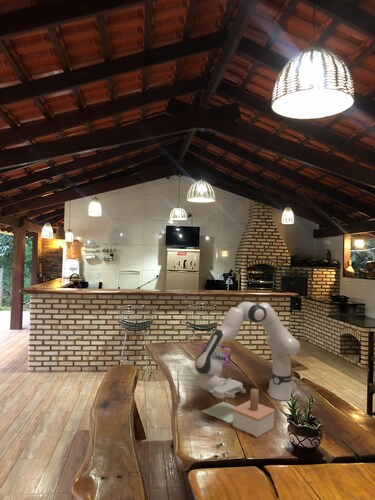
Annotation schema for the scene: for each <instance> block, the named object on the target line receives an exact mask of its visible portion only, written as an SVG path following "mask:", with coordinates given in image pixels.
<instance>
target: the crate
mask: <svg viewBox="0 0 375 500" xmlns="http://www.w3.org/2000/svg"><path fill="white" fill-rule="evenodd" d="M274 424H275V413H273V414H271V415H270V416H268V417H266V418H264V419H262V420H261V421H259V422H258V421H255V420H253V419H251V418H248V417H246V416H243V415H241V414H238V413H236V412H234V411H233V422H232V427H234V428H235V429H238V430H241V431H242V430H243V431H242V432H244V431H245V432H244V433H247V434H249V433H250V434H249V435H251V434H252V435H251V436H253V435H254V437H256V438H258V436H259V437H260V436H262V435H264V434H266V433H267V432H269V431H271V430H272V429H274V428H275V425H274ZM263 433H264V434H263ZM261 434H262V435H261Z"/></svg>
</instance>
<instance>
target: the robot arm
mask: <svg viewBox="0 0 375 500" xmlns="http://www.w3.org/2000/svg"><path fill="white" fill-rule="evenodd" d="M245 321H247V322H252V323H260V324H261V326H262V327H263V329H264V331H265V332H266V334H267V335H266V343H267V344H266V345H268V348H269V349H270V353H271V357H272V359H271V360H272V372H271V379H270V380H269V386H268V389H267V390H266V392H267V393H268V396H269V397H270V398H272V399H274V400H279V401H291V400H290V399H291V393H293V395H294V396H295V395H296V394H298V397H299V396H300V395H301V391H299V390H298V386H297V383H296V381H295V382H294V380H293V377H294V376H295V374H294V373H292V372H291V371H292V370H291V369H292V363H291V359H290V358H289V356H288V355H290V356H296V355H297V354H298V353H299V352H300V349H301V344H300V341H299V340H298V339H297V338H295V337H294V336H293V335H292V333H290V331H289V330H288V329H287V328H286V327H285V326H284V324H283V323H282V321H281V320H280V318H279V316H278V314H277V313H276V311H275V309H274V308H273V307H272V305H270V304H269V303H267V302H261V303H259V304H258V303H255V302H251V301H247V300H242V301H239V302H238V303H237V304H236V305H235V306H234V307H230V308H229V309H228V311H227V313H225V316H224V317H223V319H222V322H221V323H220V326H219V327H218V328H217V330H215V331H214V332H213V333H212V334H211V336H210V338H209V340H208V341H207V342H206V343H207V345H206V346H205V348H204V350H203V352H202V353H201V352H200V354H199V355H198V356H197V358H196V359H195V362H194V363H195V364H194V365H195V366H194V367H195V370H196V372H197V374H196V375H195V383H196V385H197V386H198V387H200V388H201V389H203V390H205V391H207V392H209V393H210V394H212V396H214V397H215V398H218V399H224V398H232V399H234V398H236V394H237V393H239V392H240V393H242V394H245V393H247V392H246V389H245V388H244V384H243V382H242V381H239V380H236V379H232V378H231V377H221V374H222V372H223V367H224V366H223V365H222V363H221V361H219V360H217V359H214V358H212V356H213V354H214V352H215V351H216V349H217V347H218V346H219V345H220V346H221V344H223V343H225V342H229V341H233V340H235V339H236V337H237V336H238V335H239V333H240V330H241V327H242V325H243V323H244V322H245Z"/></svg>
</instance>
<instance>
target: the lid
mask: <svg viewBox="0 0 375 500" xmlns="http://www.w3.org/2000/svg"><path fill="white" fill-rule="evenodd" d="M259 392H260V391H259V389H258V388H250V399H249V400H248V401H245V402H244V403H241V404H239V405H237V406H236V407H234V408H232V411H234V412H236V413H238V414H241V415H243V416H246V417H248V418H251V419H253V420H255V421H258V422H259V421H261V420H262V419H264V418H266V417H268V416H270V415H271V414H273V413H274V414H275V413H276V412H277V410H276V409H274V408H272V407H269V406H266V405H263V404H262V403H259Z"/></svg>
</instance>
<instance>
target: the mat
mask: <svg viewBox="0 0 375 500" xmlns="http://www.w3.org/2000/svg"><path fill="white" fill-rule="evenodd" d="M234 407H236V406H235V405H234V404H232V403H231V404H230V403H228V402H226V401H222V402H219V403H217V404H215V405H212V406H210V407H208V408H205V409H203V410H202V411H201V412H203V413H204V414H206V415H209V416H211V417H213V416H214V418H215V417H216V419H218V420H220V419H221V420H220V421H222V420H223V422H224V421H225V423H228V424H229V423H230V424H233V411H232V408H234Z"/></svg>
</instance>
